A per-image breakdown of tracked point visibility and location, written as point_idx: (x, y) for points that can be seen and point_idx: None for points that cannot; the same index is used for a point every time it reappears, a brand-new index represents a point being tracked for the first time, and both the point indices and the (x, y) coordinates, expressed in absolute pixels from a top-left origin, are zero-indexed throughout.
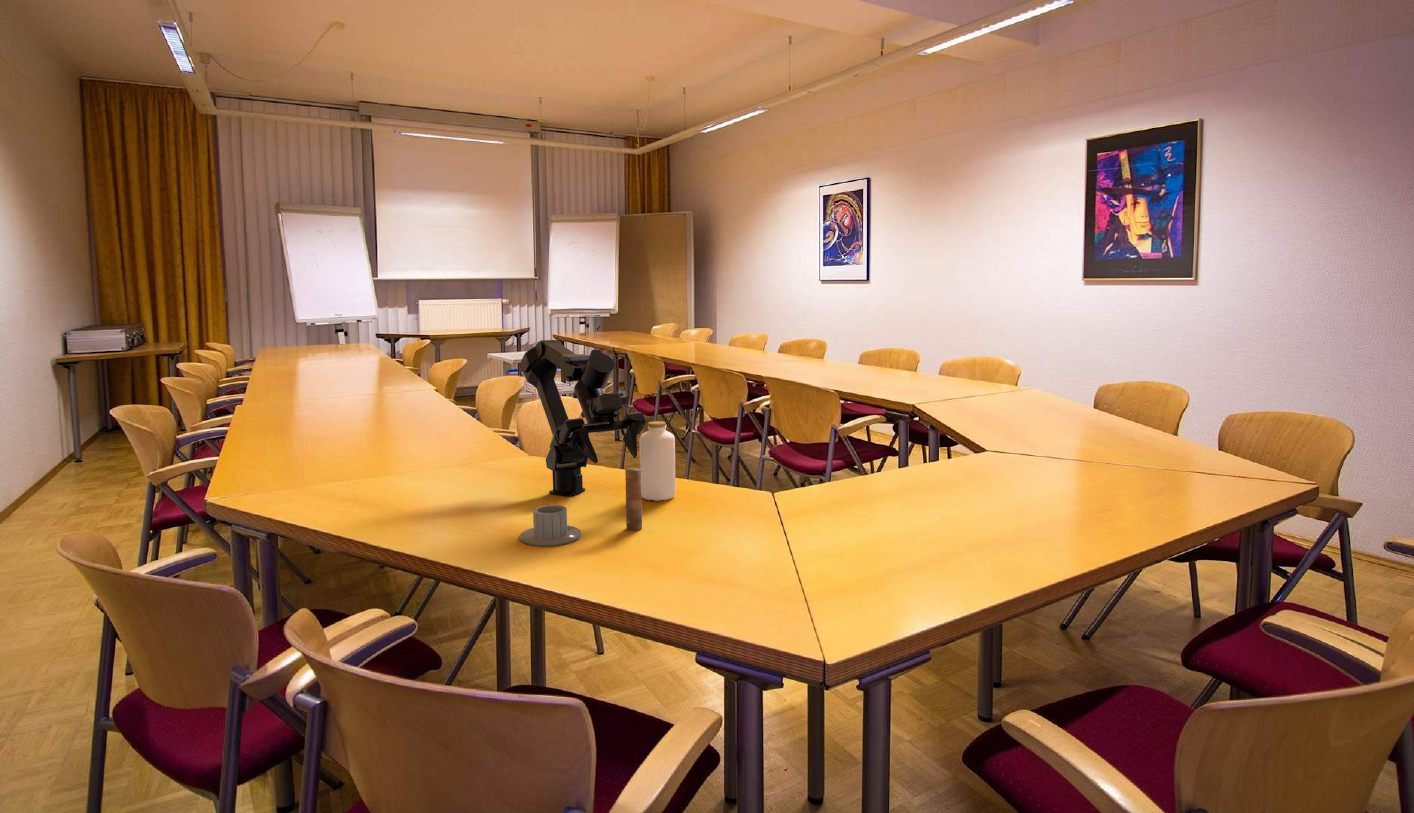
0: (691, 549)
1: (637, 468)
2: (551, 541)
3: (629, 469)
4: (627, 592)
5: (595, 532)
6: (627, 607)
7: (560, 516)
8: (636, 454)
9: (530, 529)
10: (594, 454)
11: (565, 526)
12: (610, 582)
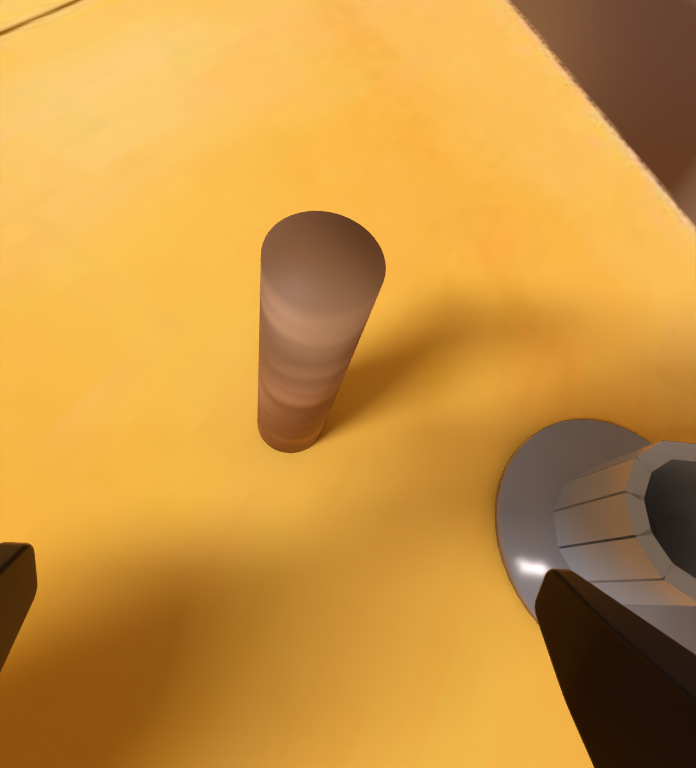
0: (265, 160)
1: (278, 263)
2: (625, 448)
3: (348, 276)
4: (529, 97)
5: (441, 476)
6: (551, 63)
7: (648, 446)
8: (4, 548)
9: None
10: (624, 616)
11: (589, 472)
12: (543, 145)
